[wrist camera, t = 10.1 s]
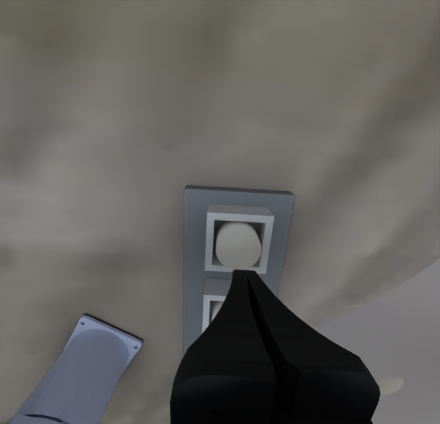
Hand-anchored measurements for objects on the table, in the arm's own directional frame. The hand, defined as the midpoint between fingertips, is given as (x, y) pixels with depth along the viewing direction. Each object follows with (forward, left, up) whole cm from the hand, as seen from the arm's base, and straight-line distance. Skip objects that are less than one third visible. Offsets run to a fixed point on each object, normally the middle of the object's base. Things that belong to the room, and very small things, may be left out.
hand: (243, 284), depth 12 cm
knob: (0, 0, -8) cm, 8 cm away
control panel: (-7, -4, -9) cm, 12 cm away
